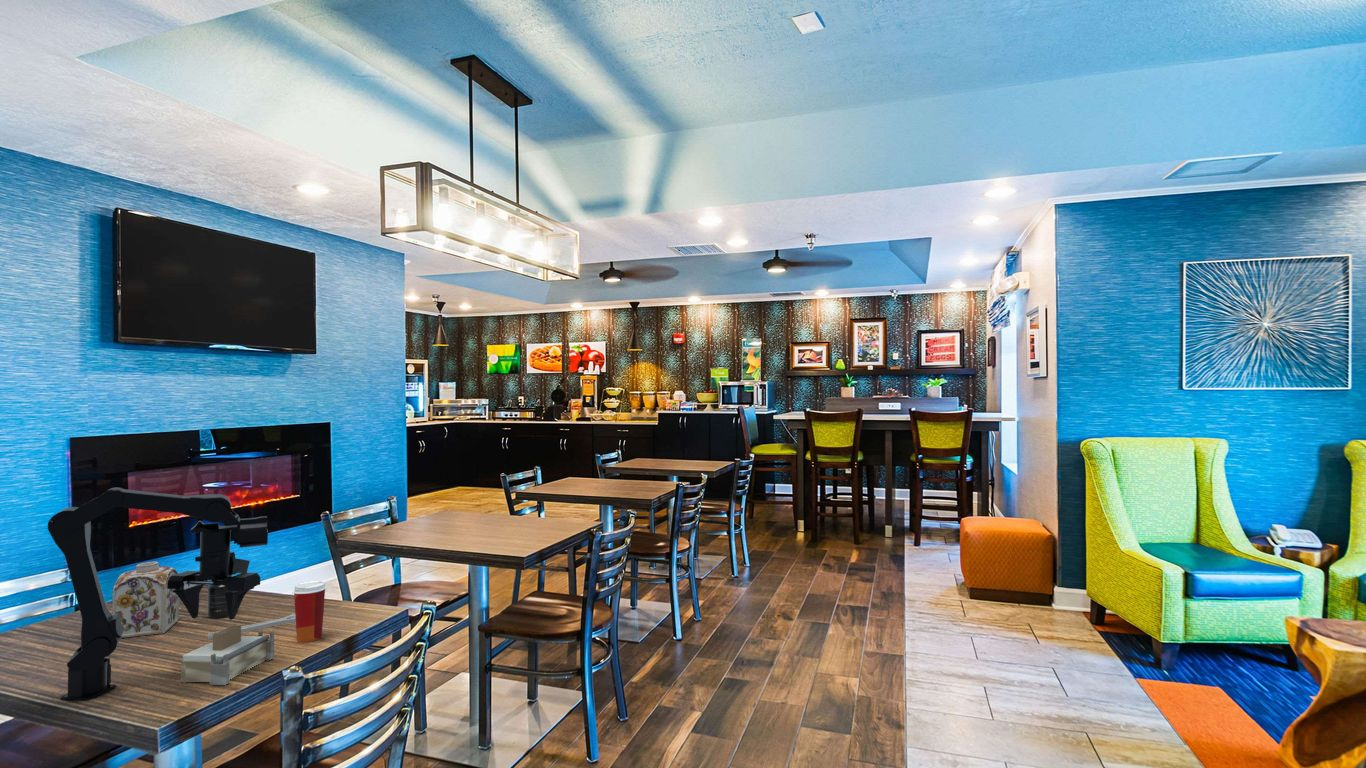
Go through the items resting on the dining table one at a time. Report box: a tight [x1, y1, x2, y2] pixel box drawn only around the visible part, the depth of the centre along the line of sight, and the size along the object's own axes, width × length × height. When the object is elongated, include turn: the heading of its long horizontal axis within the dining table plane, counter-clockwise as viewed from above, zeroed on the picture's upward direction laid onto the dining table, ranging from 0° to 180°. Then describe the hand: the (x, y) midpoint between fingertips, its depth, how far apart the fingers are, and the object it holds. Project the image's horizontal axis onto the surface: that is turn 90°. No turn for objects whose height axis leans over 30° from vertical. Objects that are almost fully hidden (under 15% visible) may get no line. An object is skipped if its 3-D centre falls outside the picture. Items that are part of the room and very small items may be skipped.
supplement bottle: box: [207, 575, 233, 619], centre depth 192 cm, size 7×7×12 cm
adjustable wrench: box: [207, 613, 296, 640], centre depth 182 cm, size 25×6×2 cm, turn 128°
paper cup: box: [292, 580, 327, 644], centre depth 172 cm, size 8×8×14 cm
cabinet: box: [180, 630, 275, 686], centre depth 152 cm, size 15×11×6 cm
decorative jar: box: [111, 561, 180, 639], centre depth 180 cm, size 12×12×18 cm
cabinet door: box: [182, 624, 270, 664], centre depth 152 cm, size 15×10×5 cm
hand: (213, 618), depth 153 cm, fingers open, 9 cm apart
